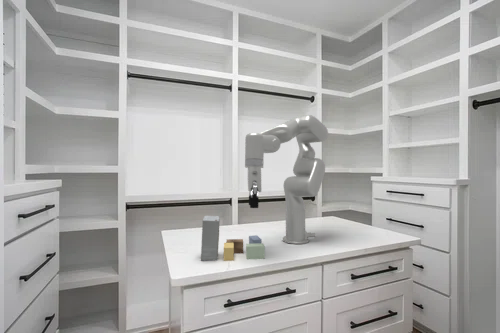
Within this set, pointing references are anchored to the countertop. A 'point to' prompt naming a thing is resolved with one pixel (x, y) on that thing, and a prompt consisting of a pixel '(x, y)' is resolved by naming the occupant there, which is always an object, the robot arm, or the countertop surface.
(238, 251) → the walnut brick
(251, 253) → the sage brick
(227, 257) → the ochre brick
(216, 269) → the countertop surface
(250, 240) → the slate brick
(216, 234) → the skincare box
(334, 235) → the countertop surface
